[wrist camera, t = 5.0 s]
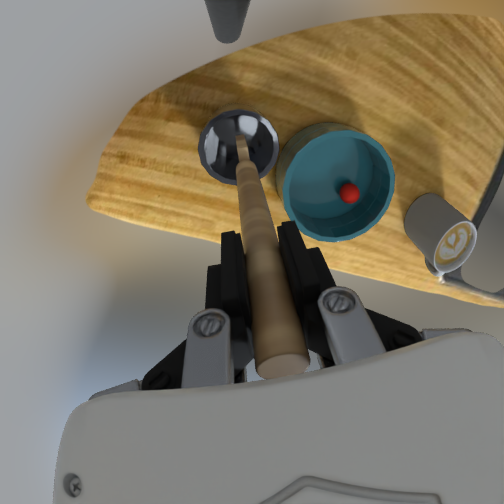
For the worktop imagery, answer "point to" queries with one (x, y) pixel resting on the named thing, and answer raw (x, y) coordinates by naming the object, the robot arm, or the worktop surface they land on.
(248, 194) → the paddle
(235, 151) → the crock
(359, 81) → the worktop surface
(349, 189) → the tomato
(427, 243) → the coffee mug
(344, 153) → the bowl
